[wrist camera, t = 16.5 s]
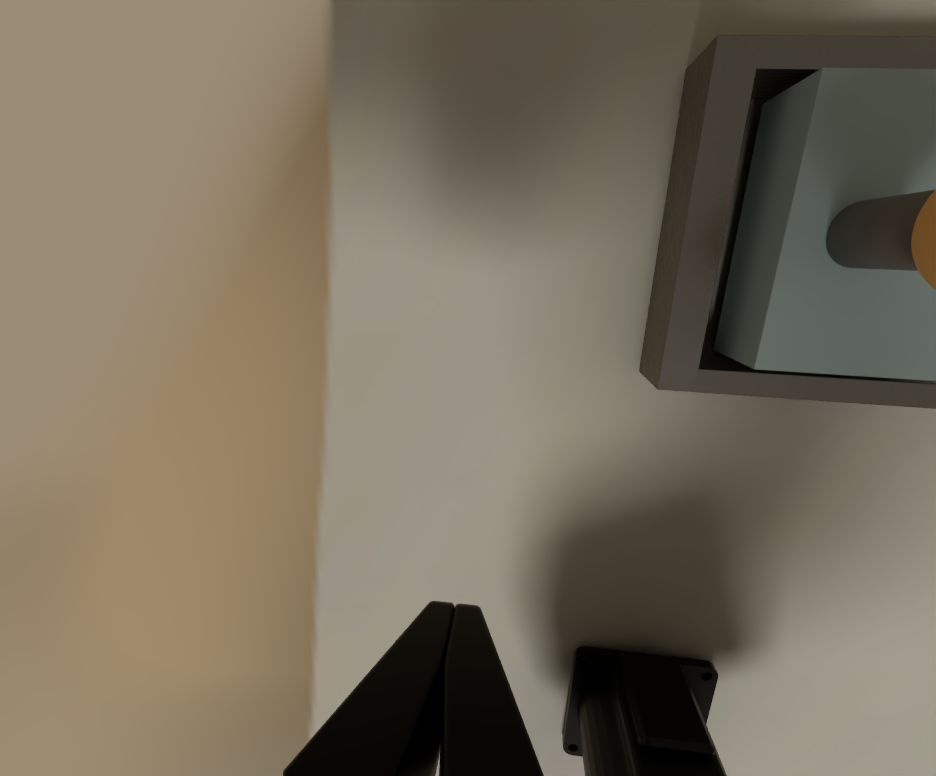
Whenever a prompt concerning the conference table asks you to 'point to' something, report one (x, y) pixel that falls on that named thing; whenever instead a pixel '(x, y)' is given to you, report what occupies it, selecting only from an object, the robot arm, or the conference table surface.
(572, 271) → the conference table surface
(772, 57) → the press frame
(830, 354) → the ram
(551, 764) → the conference table surface
